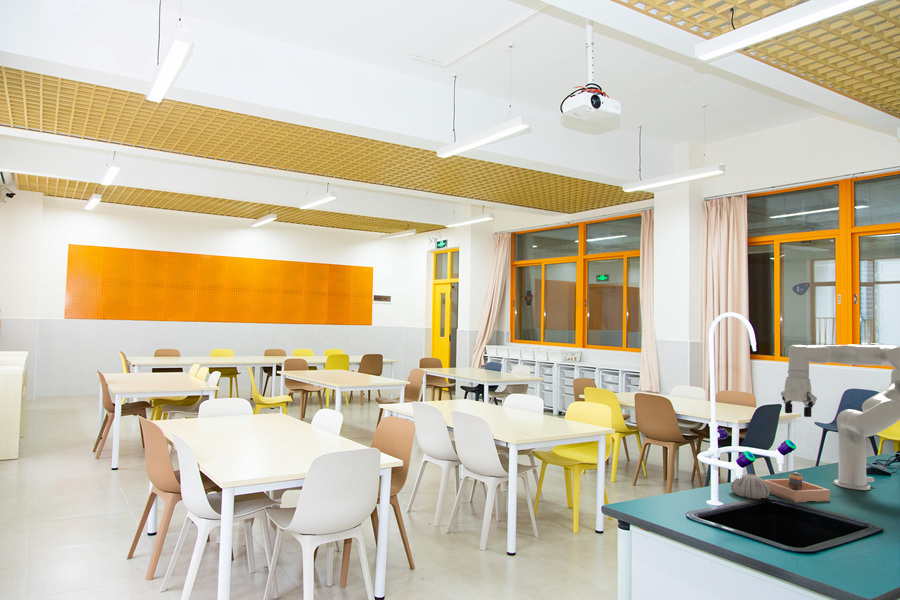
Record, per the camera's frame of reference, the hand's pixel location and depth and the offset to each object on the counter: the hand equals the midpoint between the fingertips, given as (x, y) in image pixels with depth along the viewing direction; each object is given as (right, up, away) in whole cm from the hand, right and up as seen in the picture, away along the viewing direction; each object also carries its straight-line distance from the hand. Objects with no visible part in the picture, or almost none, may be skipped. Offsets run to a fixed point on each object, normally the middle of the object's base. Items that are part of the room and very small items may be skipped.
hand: (797, 414), depth 247 cm
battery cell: (-13, -26, -21) cm, 36 cm away
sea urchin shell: (-32, -27, -24) cm, 48 cm away
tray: (-14, -27, -21) cm, 37 cm away
